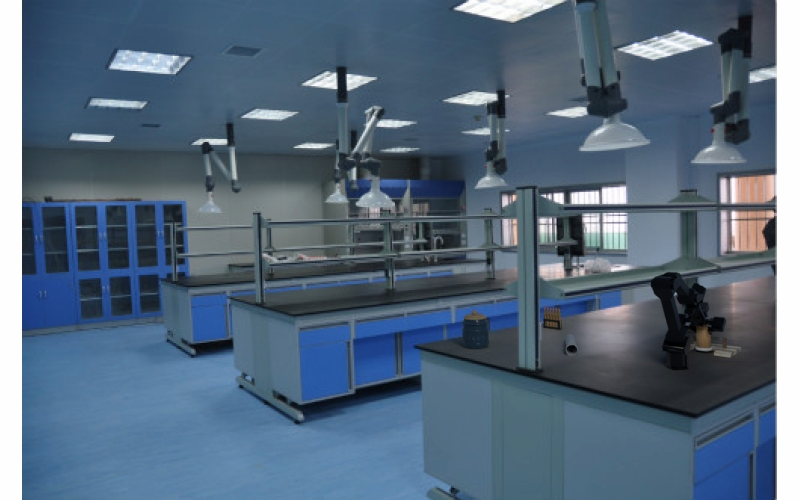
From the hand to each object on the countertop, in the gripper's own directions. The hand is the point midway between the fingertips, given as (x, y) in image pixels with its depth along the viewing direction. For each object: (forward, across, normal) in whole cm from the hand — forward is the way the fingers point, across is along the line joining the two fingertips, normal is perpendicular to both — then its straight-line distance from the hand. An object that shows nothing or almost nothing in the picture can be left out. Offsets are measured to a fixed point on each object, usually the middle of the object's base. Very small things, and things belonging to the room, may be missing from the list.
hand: (704, 333), depth 229 cm
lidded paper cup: (+4, 0, +6) cm, 7 cm away
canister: (-29, +86, +41) cm, 99 cm away
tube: (-14, +47, +26) cm, 55 cm away
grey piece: (+7, 0, +4) cm, 8 cm away
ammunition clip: (+9, +77, +2) cm, 78 cm away
